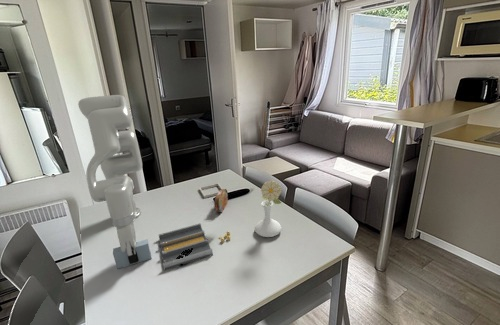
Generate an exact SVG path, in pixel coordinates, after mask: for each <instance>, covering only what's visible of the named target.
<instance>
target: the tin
mask: <svg viewBox="0 0 500 325" xmlns="http://www.w3.org/2000/svg"><path fill="white" fill-rule="evenodd" d="M217 192H218V194H217V195H216V196H214V197H215V198H214V202H213V203H214V204H213V205H214V209H215V210H214V211H215V212H217V213H223V212H224V210H225V209H226V207H227V205H228V202H229V192H228V190H227V189H226V188H223V189H219V191H217Z"/></svg>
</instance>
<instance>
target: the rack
mask: <svg viewBox="0 0 500 325" xmlns="http://www.w3.org/2000/svg"><path fill="white" fill-rule="evenodd" d="M158 239H159V244H160V251H161V256H162V257H161V258H162V263H163V268H164V271H167V270H170V269H173V268H177V267H180V266H181V265H180V264H183V265H186V264H190V263H193V262H196V261H199V260H202V259H205V258H208V257H211V256H213V255H214V254H213V248H211V246H210V244H209V239H207V237H206V235H205V230H203V228H202V224H201V223H199V222H198V223H196V224H193V225H189V226H185V227H181V228H177V229H175V230H171V231H167V232H163V233H159V234H158ZM191 248H193V250H192V252H191V253H190V254H189V255H188V256H186V257H183V258H180V259H176V258H177V257H178V256H179V255H180V254H181V253H182V252H183V251H185V250H188V249H191Z"/></svg>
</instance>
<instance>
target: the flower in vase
mask: <svg viewBox="0 0 500 325" xmlns="http://www.w3.org/2000/svg"><path fill="white" fill-rule="evenodd" d="M260 192H261V195H260V197H261V198H262V199H263V201H262V202H261V203H260V205H261V206H262V207H263V211H264V217H263V219H261V220H260V221H258V222H257V223H256V224H255V227H254V231H255V233H256V234H257V235H258V236H260V237H263V238H265V237H266V238H272V237H275V236H277V235H279V234H280V233H281V231H282V225H281V224H280V222H278V221H277V220H275V219H273V218H271V208H272V207H273V205H274V204H275V205H280V204H282V201H281V200H280V199H279V197H280V195H281V194H282V189H281V184H279V183H278V182H276V181H274V180H272V179H271V180H270V181H269V180H268V181H266V182H263V185H262V186H261V189H260Z"/></svg>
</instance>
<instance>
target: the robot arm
mask: <svg viewBox="0 0 500 325" xmlns="http://www.w3.org/2000/svg"><path fill="white" fill-rule="evenodd" d="M77 105H78V108H79V111H80V113H81V114H82V115H83V116H84V118H86V119H87V122H88V126H89V130H90V131H89V132H90V134H91V139H92V143H93V148H94V154H93V156H92V157H91V159H89V160H90V161H89V163H88V165H87V168H86V181H87V186H88V187H87V188H88V192H89V195H90V197H91V199H92V200H93V201H94V202H97V203H101V202H102V203H103V202H105V203H106V205H107V210H108V213H109V217H110V220H111V223H112V226H113V227H114V228H116V233H117V238H118V243H119V247H121V251H122V252H125V250H126V251H127V256H128V260H129V263H130V264H132V263H135V264H137V263H136V262H138V261H139V259H138V255H137V252H136V251H135V248H136V242H137V240H136V238H137V237H136V230H135V226H134V223H135V221H136V218H138V217H139V216H140V215H141V212H142V211H141V209H140V208H138V207H137V205H136V201H135V197H134V193H133V190H134V188H135V185H134V181H133V179H132V178H131V177H130V176H128V175H127V174H132V173H136V172H139V171H141V170H142V169H143V160H142V155H141V150H140V145H139V142H138V138H137V135H136V133H135V132H133V131H132V130H127V129H129V128H131V127H132V125H133V124H132V114H131V112H130V108H129V104H128V101H127V99H126V97H125V96H124V95H122V94H112V95H101V96H100V95H99V96H90V97H85V98H81V99H80V100H79V101H78V104H77ZM125 129H126V130H125ZM119 130H121V131H119ZM99 166H100V169H101V171H102V174H103V176H104V178H105V179H102V180H98V181H97V178H96V175H97V174H96V172H97V170H98V168H99ZM132 249H133V251H132ZM138 263H139V262H138ZM132 265H133V264H132Z"/></svg>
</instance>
